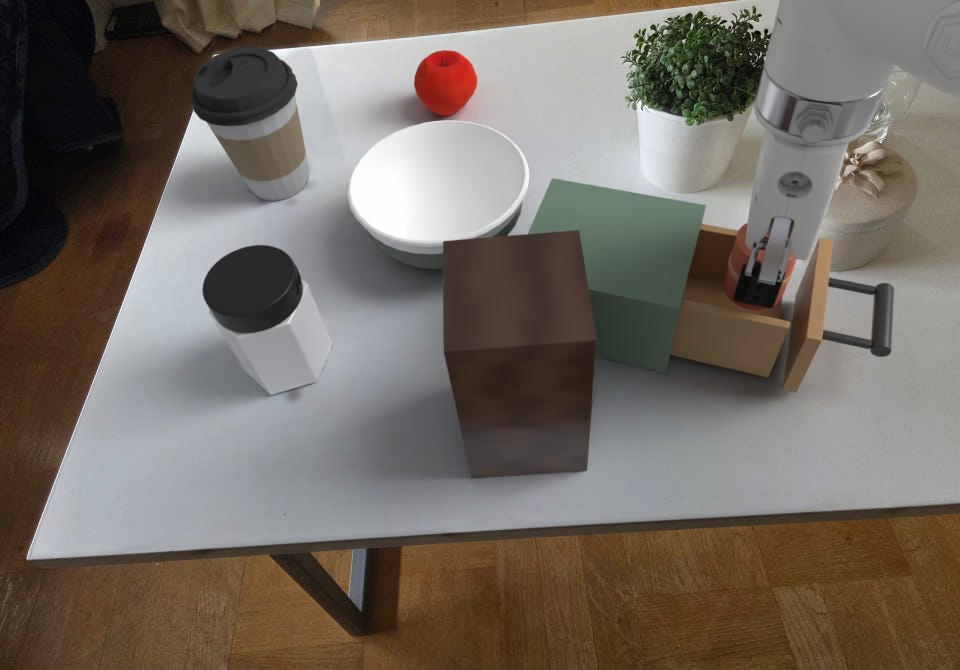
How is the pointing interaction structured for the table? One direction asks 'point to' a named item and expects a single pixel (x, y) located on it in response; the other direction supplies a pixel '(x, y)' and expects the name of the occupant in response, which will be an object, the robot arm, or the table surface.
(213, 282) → the jar
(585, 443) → the block
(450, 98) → the apple
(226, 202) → the table surface
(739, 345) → the drawer
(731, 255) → the red cylinder
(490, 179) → the bowl
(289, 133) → the coffee cup
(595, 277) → the cabinet
